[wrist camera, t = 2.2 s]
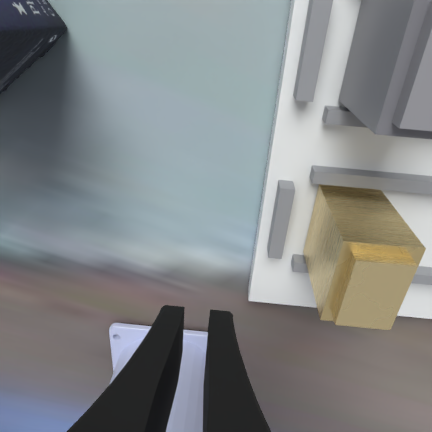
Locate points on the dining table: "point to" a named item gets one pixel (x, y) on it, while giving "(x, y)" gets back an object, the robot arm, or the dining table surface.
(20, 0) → the small box
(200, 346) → the robot arm
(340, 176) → the control board
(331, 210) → the slider brass
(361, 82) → the slider graphite
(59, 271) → the dining table surface
